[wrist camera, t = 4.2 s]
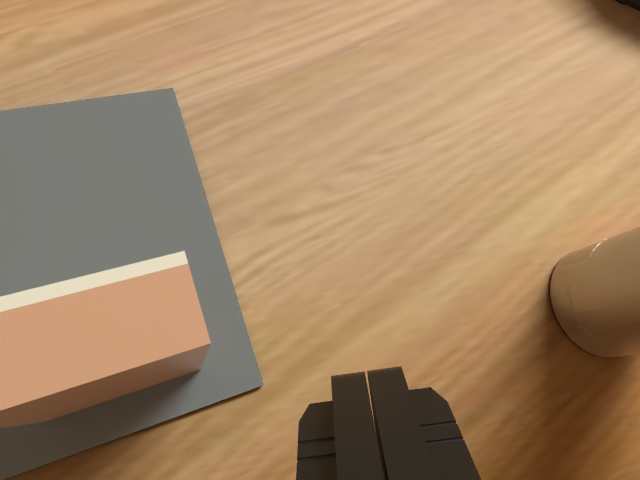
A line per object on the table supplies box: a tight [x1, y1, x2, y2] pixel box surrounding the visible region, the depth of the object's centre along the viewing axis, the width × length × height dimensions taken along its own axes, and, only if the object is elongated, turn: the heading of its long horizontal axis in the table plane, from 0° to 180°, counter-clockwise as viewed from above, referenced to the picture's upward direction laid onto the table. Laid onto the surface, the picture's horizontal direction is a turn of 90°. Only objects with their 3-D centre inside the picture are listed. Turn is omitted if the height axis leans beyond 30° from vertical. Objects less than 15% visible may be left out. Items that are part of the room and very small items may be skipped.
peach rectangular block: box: [0, 251, 211, 428], centre depth 22 cm, size 9×4×15 cm, turn 110°
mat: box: [0, 88, 263, 480], centre depth 31 cm, size 16×23×1 cm
